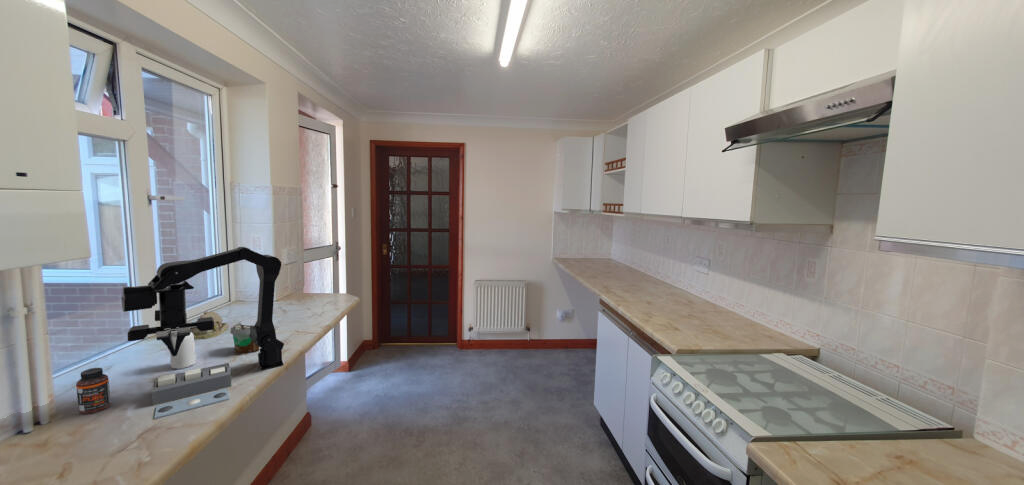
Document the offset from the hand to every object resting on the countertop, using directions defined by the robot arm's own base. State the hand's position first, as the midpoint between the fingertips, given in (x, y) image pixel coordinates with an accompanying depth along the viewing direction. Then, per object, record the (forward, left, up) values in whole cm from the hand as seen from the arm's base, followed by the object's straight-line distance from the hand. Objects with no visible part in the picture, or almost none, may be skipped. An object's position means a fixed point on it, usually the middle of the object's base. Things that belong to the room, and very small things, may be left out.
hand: (174, 355), depth 111 cm
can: (-1, -22, -12) cm, 25 cm away
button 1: (+2, 0, -8) cm, 9 cm away
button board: (-4, 0, -12) cm, 12 cm away
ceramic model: (-8, -54, -12) cm, 56 cm away
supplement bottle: (+17, -2, -12) cm, 21 cm away
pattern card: (-4, +10, -12) cm, 16 cm away
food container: (-18, -24, -12) cm, 32 cm away
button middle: (-4, 0, -8) cm, 9 cm away
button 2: (-10, 0, -10) cm, 14 cm away
